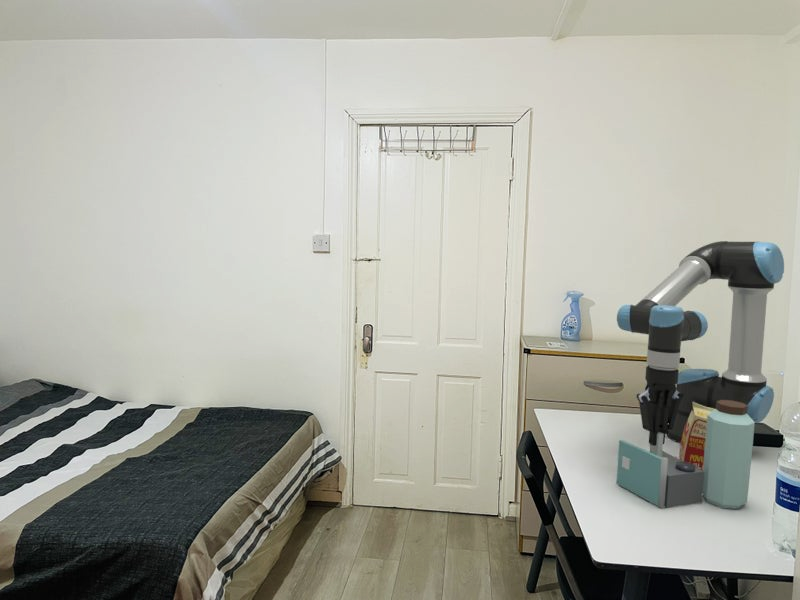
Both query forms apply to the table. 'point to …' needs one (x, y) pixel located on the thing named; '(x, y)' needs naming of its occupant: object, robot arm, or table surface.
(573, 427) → the table surface
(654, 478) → the side door
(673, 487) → the camera body
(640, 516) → the table surface
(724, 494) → the water bottle
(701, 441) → the milk carton
